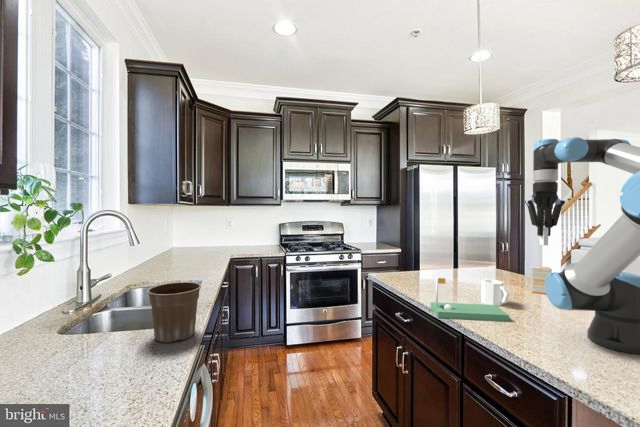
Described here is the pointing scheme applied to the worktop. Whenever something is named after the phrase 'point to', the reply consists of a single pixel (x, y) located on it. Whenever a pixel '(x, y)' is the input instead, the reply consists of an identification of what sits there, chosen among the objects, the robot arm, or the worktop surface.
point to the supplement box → (539, 278)
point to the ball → (448, 306)
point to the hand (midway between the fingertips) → (543, 244)
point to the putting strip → (467, 309)
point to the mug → (493, 292)
